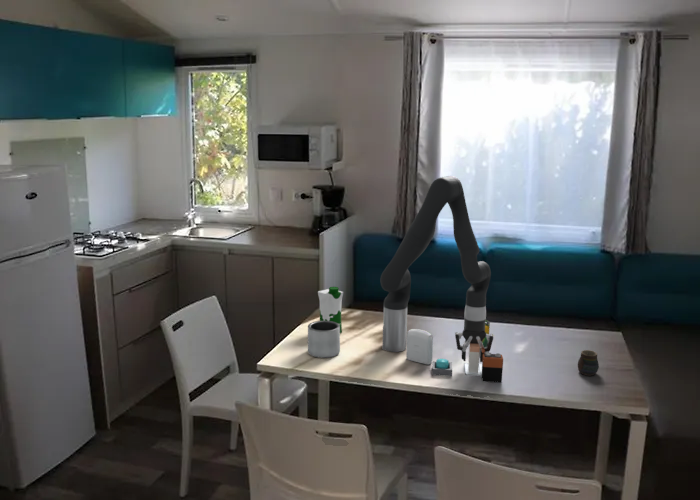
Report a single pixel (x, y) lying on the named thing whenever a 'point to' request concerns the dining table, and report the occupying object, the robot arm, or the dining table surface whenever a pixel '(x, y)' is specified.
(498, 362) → the battery
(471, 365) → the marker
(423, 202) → the robot arm
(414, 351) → the photo printer
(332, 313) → the milk carton
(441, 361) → the button
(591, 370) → the mate gourd
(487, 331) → the crayon box
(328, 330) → the planter
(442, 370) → the button housing
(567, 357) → the dining table surface
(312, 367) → the dining table surface
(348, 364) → the dining table surface
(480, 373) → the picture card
